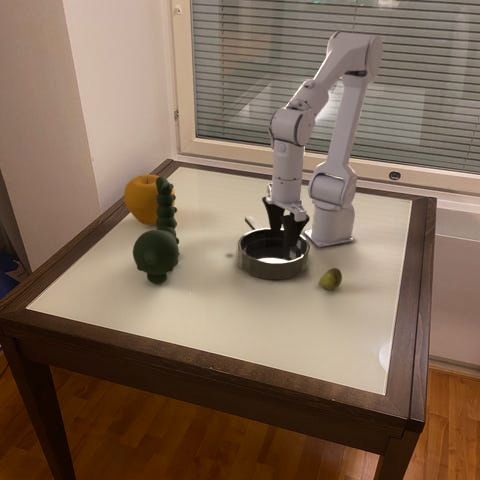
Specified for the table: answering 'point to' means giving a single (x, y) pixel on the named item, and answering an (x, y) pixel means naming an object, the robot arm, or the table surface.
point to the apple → (143, 198)
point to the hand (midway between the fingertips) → (283, 237)
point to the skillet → (272, 254)
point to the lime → (331, 279)
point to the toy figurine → (159, 238)
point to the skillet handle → (253, 224)
